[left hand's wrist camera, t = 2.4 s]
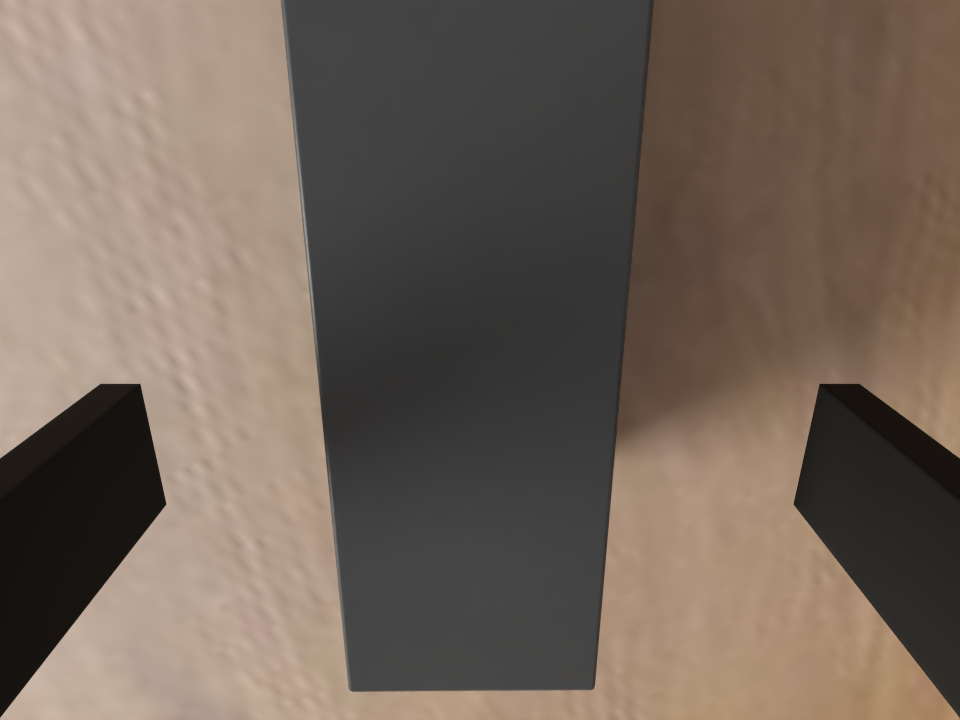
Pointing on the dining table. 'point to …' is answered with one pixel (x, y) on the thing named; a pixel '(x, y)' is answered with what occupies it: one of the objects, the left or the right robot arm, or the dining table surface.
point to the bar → (469, 321)
